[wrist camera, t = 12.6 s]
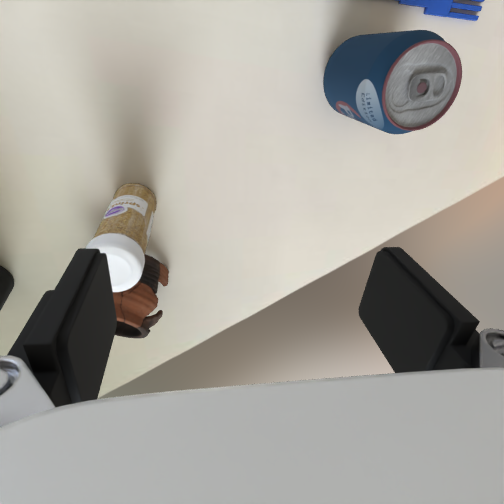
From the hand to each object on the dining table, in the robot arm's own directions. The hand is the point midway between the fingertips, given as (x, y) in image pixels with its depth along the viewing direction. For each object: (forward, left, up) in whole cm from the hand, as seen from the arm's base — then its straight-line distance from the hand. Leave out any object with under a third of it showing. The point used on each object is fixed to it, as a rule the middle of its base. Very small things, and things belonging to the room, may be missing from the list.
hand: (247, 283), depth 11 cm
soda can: (-6, +14, -26) cm, 31 cm away
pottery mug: (+18, -10, -26) cm, 34 cm away
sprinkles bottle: (+8, -8, -26) cm, 29 cm away
